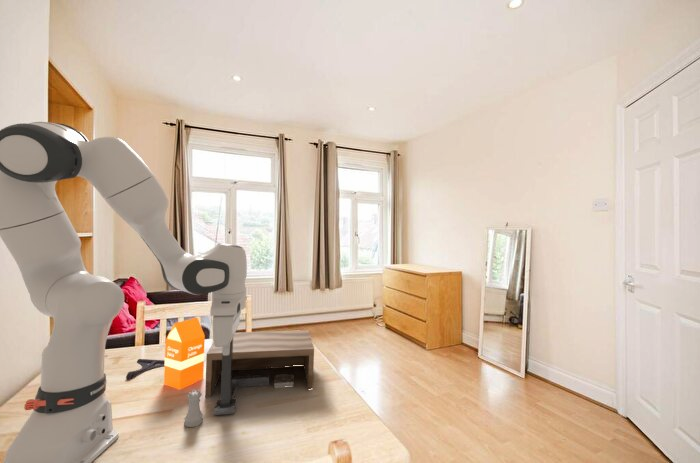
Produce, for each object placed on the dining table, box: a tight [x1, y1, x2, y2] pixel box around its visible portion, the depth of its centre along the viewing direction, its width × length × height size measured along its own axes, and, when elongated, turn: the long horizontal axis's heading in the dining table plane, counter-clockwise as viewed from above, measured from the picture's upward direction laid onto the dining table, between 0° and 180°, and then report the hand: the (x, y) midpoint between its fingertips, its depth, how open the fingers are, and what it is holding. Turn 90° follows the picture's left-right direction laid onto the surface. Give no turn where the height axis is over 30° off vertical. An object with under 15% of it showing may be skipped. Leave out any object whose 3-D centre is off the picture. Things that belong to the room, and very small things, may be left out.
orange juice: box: [163, 317, 206, 390], centre depth 106 cm, size 8×9×20 cm
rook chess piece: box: [183, 389, 204, 428], centre depth 83 cm, size 4×4×8 cm
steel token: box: [273, 373, 294, 388], centre depth 107 cm, size 6×6×2 cm
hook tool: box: [213, 338, 270, 416], centre depth 97 cm, size 18×14×20 cm
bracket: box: [125, 358, 165, 381], centre depth 113 cm, size 14×15×3 cm
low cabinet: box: [204, 329, 315, 398], centre depth 109 cm, size 20×32×13 cm, turn 102°
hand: (227, 351), depth 89 cm, fingers closed on hook tool, 2 cm apart
